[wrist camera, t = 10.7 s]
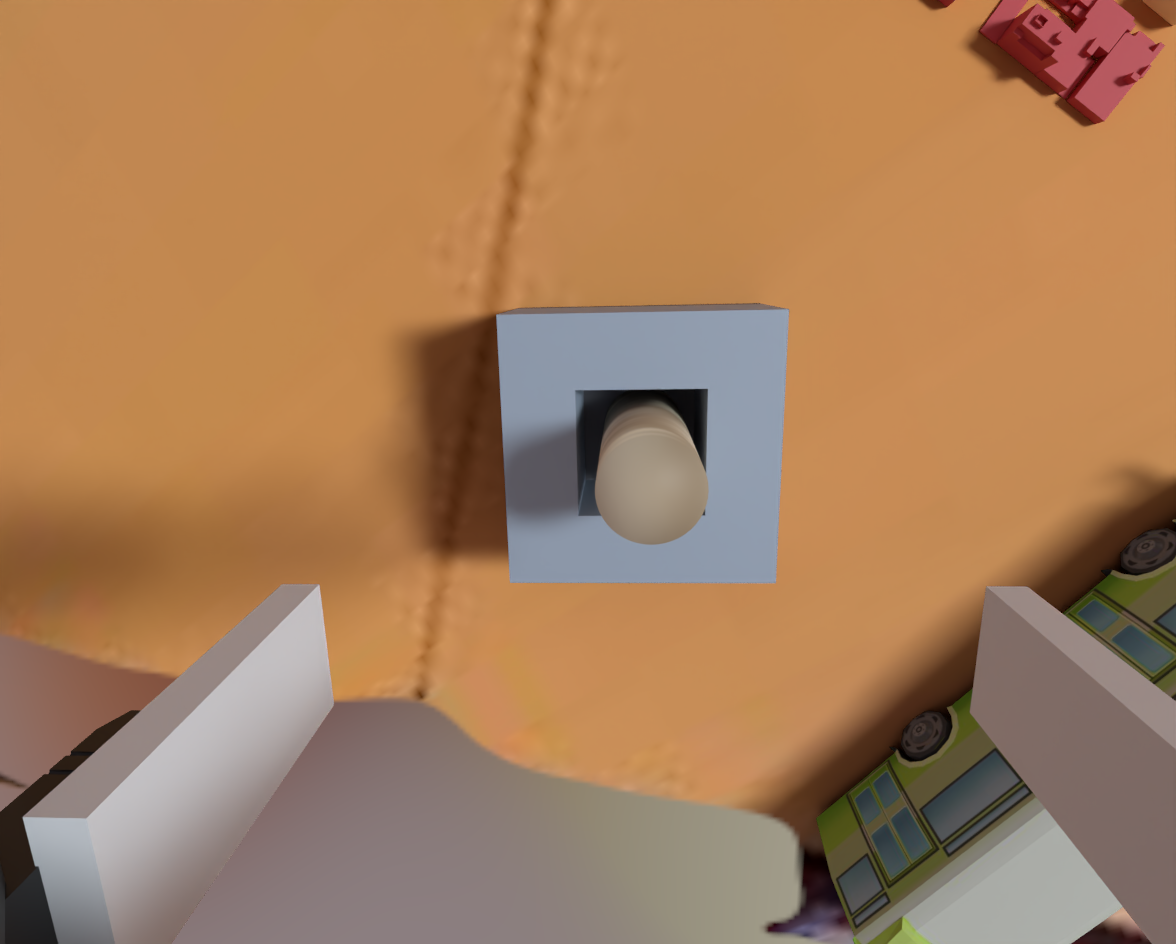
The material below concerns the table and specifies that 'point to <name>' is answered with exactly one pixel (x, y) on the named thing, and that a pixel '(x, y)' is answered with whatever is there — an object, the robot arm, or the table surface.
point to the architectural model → (1078, 48)
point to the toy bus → (990, 803)
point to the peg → (649, 470)
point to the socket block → (576, 421)
